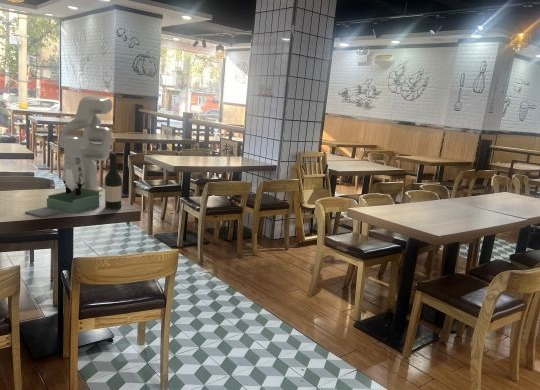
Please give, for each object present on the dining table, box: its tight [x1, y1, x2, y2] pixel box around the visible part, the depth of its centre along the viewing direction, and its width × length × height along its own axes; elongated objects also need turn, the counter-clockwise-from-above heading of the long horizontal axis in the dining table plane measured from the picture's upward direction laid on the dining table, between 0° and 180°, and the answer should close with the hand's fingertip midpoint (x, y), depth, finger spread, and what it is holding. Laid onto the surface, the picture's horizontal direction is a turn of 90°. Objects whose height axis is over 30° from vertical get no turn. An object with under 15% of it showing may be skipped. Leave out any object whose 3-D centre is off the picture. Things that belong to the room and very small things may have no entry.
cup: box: [66, 169, 79, 191], centre depth 231 cm, size 7×7×21 cm
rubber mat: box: [24, 206, 64, 218], centre depth 219 cm, size 12×12×1 cm
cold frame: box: [46, 188, 101, 214], centre depth 232 cm, size 18×18×9 cm
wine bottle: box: [104, 152, 122, 211], centre depth 235 cm, size 8×8×30 cm
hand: (73, 194), depth 232 cm, fingers closed on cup, 6 cm apart
